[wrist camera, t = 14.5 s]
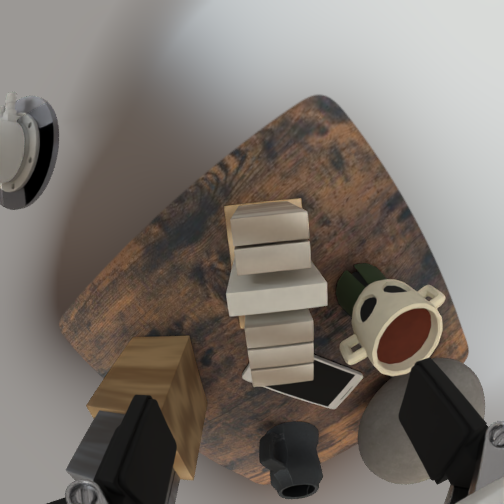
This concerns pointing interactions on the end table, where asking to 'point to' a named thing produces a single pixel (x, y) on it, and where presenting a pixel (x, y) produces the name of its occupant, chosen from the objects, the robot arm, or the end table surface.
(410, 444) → the grey oval stone
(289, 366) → the grey-brown wooden block stand
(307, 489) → the mug
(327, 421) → the end table surface
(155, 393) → the wooden stand
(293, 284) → the grey flat block
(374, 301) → the character mug
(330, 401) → the smartphone
